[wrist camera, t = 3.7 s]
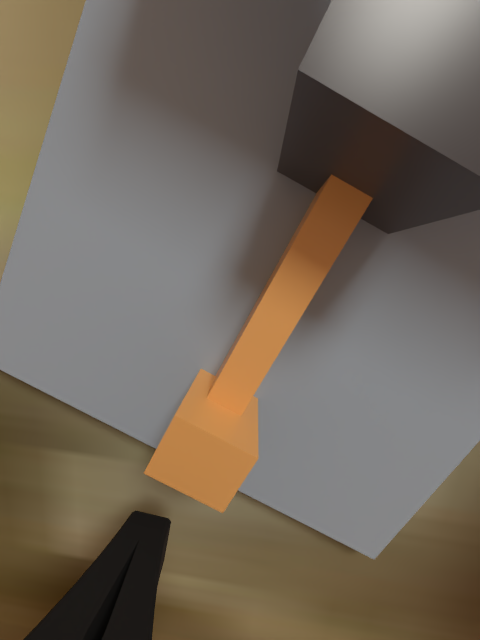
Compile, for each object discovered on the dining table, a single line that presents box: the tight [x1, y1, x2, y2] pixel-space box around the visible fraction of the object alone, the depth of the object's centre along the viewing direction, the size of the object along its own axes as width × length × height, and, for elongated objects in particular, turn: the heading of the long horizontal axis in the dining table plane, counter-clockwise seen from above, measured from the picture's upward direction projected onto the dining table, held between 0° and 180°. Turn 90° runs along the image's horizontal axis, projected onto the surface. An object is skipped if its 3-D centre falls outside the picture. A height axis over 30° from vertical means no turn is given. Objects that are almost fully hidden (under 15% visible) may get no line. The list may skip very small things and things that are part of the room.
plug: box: [144, 0, 480, 513], centre depth 6 cm, size 13×4×4 cm, turn 152°
